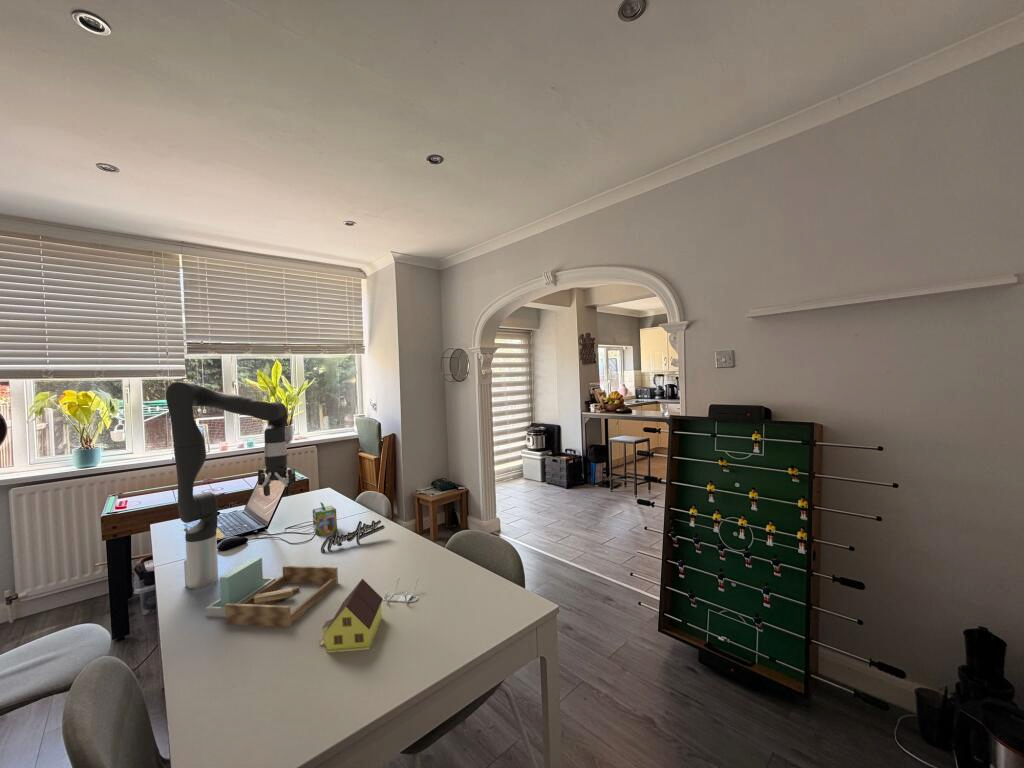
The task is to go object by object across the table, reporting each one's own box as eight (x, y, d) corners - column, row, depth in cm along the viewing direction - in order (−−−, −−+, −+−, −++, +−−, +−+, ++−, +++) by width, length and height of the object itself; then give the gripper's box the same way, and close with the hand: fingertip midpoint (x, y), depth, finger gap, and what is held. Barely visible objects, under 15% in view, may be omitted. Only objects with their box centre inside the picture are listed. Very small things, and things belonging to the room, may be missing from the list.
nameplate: (324, 560, 181) (317, 539, 179) (323, 559, 182) (317, 538, 181) (386, 532, 195) (380, 512, 193) (385, 531, 196) (379, 511, 195)
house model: (307, 662, 110) (305, 614, 110) (333, 619, 130) (331, 578, 130) (377, 655, 112) (375, 608, 112) (392, 614, 132) (391, 574, 132)
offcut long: (241, 617, 133) (240, 610, 133) (295, 592, 149) (295, 585, 149) (245, 619, 132) (245, 612, 132) (299, 593, 147) (299, 587, 147)
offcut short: (255, 599, 140) (255, 594, 140) (292, 593, 143) (292, 587, 143) (254, 603, 137) (253, 598, 137) (291, 596, 141) (291, 591, 141)
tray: (206, 617, 133) (205, 607, 133) (254, 585, 154) (254, 577, 153) (230, 618, 132) (230, 608, 132) (276, 586, 152) (275, 577, 152)
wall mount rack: (378, 604, 137) (377, 591, 137) (392, 588, 148) (391, 575, 148) (413, 606, 136) (413, 592, 136) (425, 590, 146) (424, 577, 146)
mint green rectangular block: (221, 611, 135) (219, 577, 135) (255, 588, 150) (254, 557, 150) (229, 611, 135) (227, 577, 135) (263, 588, 150) (261, 557, 150)
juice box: (337, 532, 205) (336, 502, 205) (317, 537, 200) (316, 506, 200) (332, 527, 213) (331, 498, 213) (313, 532, 207) (311, 502, 207)
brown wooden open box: (225, 624, 129) (224, 605, 129) (284, 581, 155) (284, 565, 155) (288, 627, 126) (288, 607, 126) (338, 583, 153) (337, 567, 152)
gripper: (251, 455, 159) (253, 498, 160) (286, 455, 157) (288, 498, 158) (265, 452, 167) (267, 493, 167) (298, 451, 165) (300, 493, 165)
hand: (277, 495), depth 162 cm, fingers open, 8 cm apart
